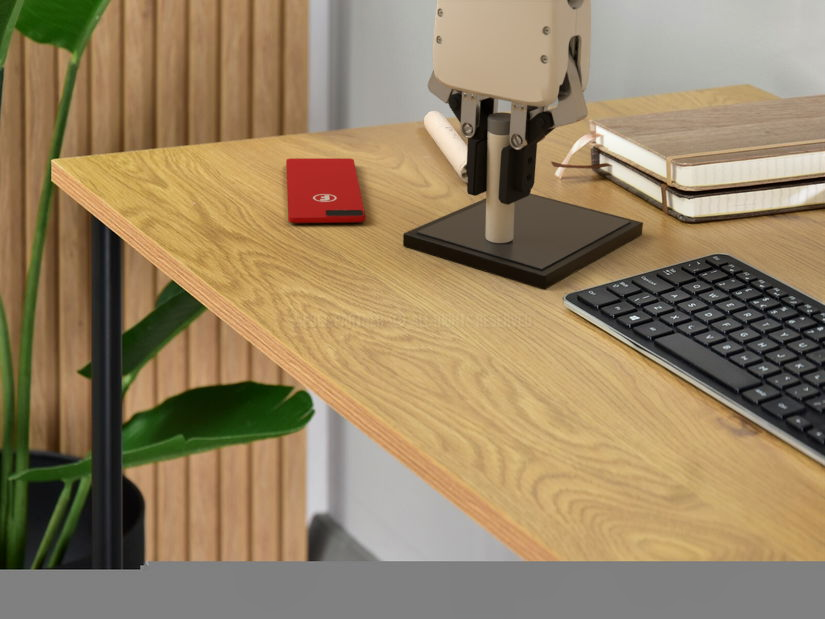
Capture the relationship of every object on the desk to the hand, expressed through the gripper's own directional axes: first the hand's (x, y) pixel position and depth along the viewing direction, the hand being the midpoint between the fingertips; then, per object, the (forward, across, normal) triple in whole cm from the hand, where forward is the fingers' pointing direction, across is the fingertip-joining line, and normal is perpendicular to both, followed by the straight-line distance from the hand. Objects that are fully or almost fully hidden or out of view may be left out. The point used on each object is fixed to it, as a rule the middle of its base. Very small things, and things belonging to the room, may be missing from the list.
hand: (498, 193), depth 84 cm
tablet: (+5, 0, -4) cm, 6 cm away
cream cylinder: (+5, +17, -18) cm, 25 cm away
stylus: (+3, 0, 0) cm, 3 cm away
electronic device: (+5, +18, -2) cm, 19 cm away
